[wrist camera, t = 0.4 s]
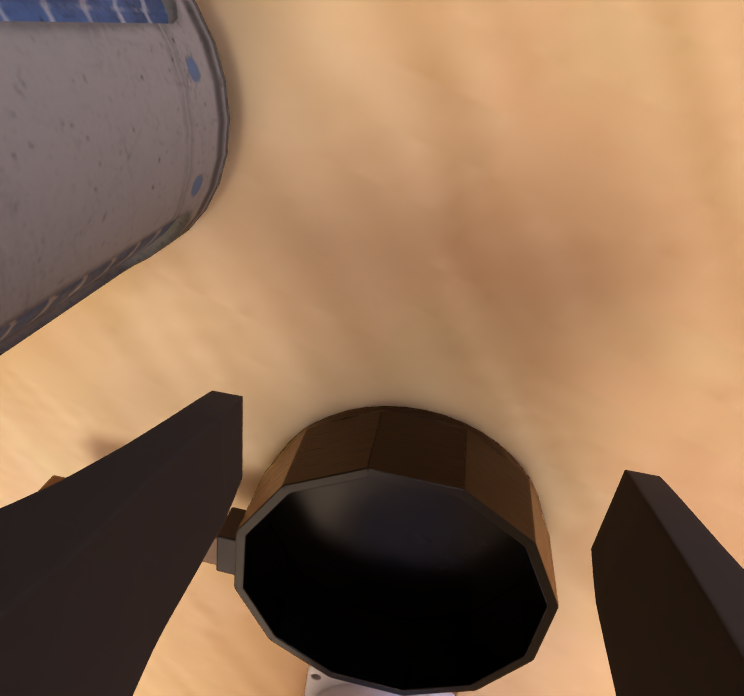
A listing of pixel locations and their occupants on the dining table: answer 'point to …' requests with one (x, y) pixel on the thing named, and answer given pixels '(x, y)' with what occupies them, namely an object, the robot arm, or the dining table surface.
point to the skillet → (395, 553)
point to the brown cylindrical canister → (100, 144)
